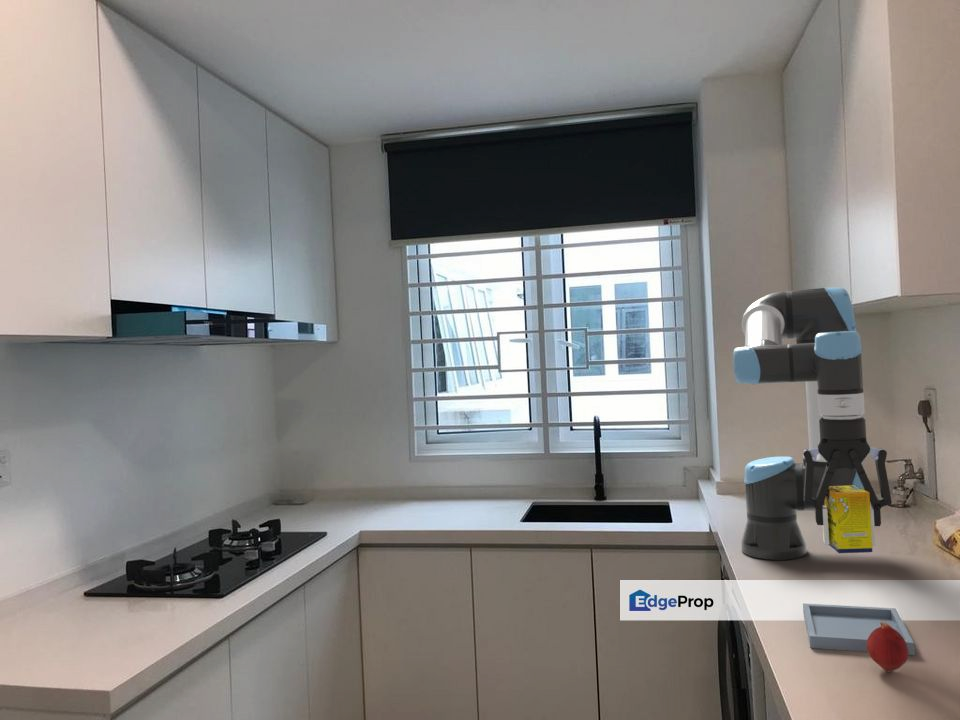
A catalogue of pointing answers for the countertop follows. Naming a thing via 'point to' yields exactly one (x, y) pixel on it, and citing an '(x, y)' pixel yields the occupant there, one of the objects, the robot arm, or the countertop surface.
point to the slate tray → (849, 626)
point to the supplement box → (849, 519)
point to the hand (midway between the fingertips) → (848, 543)
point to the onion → (887, 647)
